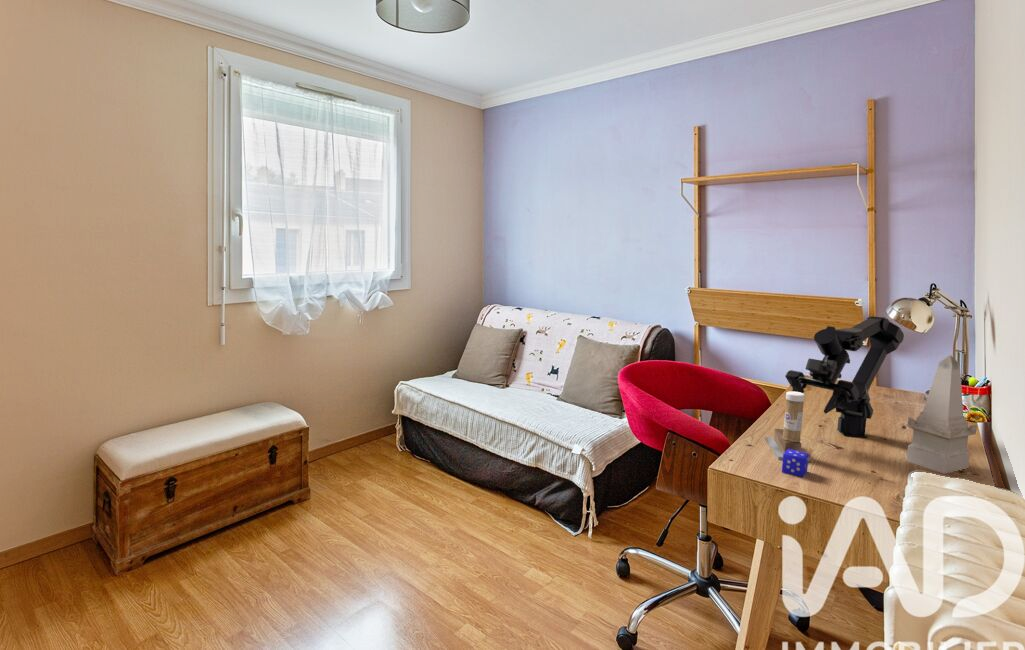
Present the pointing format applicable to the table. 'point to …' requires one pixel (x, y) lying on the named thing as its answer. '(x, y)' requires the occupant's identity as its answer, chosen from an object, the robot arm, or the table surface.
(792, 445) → the ridge
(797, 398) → the spice jar
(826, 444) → the table surface
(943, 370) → the miniature monument
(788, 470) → the die
